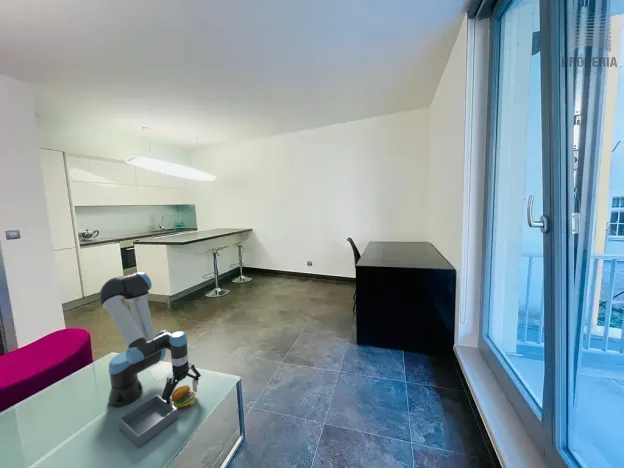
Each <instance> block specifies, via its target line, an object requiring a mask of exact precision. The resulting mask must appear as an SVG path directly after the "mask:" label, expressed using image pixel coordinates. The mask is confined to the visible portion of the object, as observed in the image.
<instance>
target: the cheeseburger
mask: <svg viewBox="0 0 624 468" xmlns="http://www.w3.org/2000/svg"><path fill="white" fill-rule="evenodd" d="M195 395H196V392H194V391H193V390H191V386H189V385H183V386H179V387H177V388H175V389H174V391H173V393H172V395H171V397H172V403H173V406H174V407H176V408H177V411H181V410H186V409H189V407H193V406H194V404H195V402H196V401H195V397H196V396H195Z"/></svg>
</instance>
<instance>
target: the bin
mask: <svg viewBox="0 0 624 468" xmlns="http://www.w3.org/2000/svg"><path fill="white" fill-rule="evenodd" d="M161 397H162V396H161V395H159V394H156V393H155V395H152V397H150V398H149V399H147V400H145V401H143V402H142V403H141V404H138V405H137V406H136V407H135V408H133V409H132V410H130V411H128V412H127V413H125V414H124V415H122V416H121V417H119V418H118V419H117V420H118V427H119V431H120V432H121V433H122V434H123V435H124V436H125V437H126V438H128V439H129V441H130V442H131V443H132V444H134V445H135V446H136V447H137V448H138V450H140V449H141V448H143V447H144V446H146V445H147V444H148V443H150V441H151V440H153V439H155V438H156V437H157V436H158V435H160V434H161V433H162V432H163V431H165V430H166V429H167V428H168V427H170V426H172V425H173V424H174V423H175V422H177V421H178V420H179V416H178V413H179V412H178V409H177V408H176V407H174V404H173V403H172V404H169V405H168V404H166V400H163V399H162V398H161Z"/></svg>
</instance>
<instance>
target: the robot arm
mask: <svg viewBox="0 0 624 468" xmlns="http://www.w3.org/2000/svg"><path fill="white" fill-rule="evenodd" d="M151 289H152V281H151V278H150V277H149V276H148V274H147V273H145V272H143V271H139V272H133V273H129V274H125V275H122V276H117V277H112V278H111V279H109V280H107V281H106V282H105V283H104V284H103V285H102V287H101V289H100V291H99V302H100V305H101V306H102V308H103V309H104V310H105V309H106V310H107V312H108V314H109V315H110V317H111V319H112V321H113V323H114V325H115V327H116V328H117V329H118V332H119V333H120V335H121V337H122V339H123V341H124V342H125V345H126V346H127V348H128V349H126V351H122V352H120V353H118V354H116V355H115V356H113V357H112V359H111V360H110V361H109V363H108V373H109V379H110V388H111V389H110V392H109V395H108V405H110V406H111V407H113V406H114V407H113V408H117V407H118V408H120V407H125V406H127V405H129V404H132V403H133V402H135V401H137V399H139V398H140V396H142V394H143V392H144V388H143V387H144V386H143V384H142V383H141V381H140V379H139V377H138V374H139V373H141V372H143V371H145V370H147V369H149V368H150V367H152V366H154V365H156V364H158V363H160V362H161V361H163V360H164V359H165V357H166V353H167V351H166V349H167V350H169V351H170V357H171V368H172V376H170V377H169V376H167V377H166V383H165V385H164V389H163V391H162V394H161V396H160V397H161V398H162V399H163V400H166V404H168V405H169V404H172V405H173V401H172V394H173V392H174V390H175V389H176V387H177V385H178V384H179V383H180V382H181V381H183V380H185V379H186V377H189V378H192V380H191V382H192V383H191V384H192V392H194V393H197V392H198V385H199V383H198V382H199V379H200V377H201V376H202V374H200V372H199V371H198V370H197V368H196V367H195V364H193V363H189V362H190V361H189V354H188V353H189V351H188V337H187V333H186V332H184V331H183V330H182V331H179V330H178V331H175V332H172V331H171V330H168V329H162V330H159V331H158V332H157V334H156V333H155V330H154V326H153V320H152V315H151V312H150V307H149V302H148V296H149V293H150V292H149V291H150V290H151ZM124 300H125V301H127V302H128V304H129V308H130V310H129V308H128V306H127V305H126V302H125V301H124ZM190 370H191V371H192V373H194V374H195V375H193V374H192V373H189V371H190Z"/></svg>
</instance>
